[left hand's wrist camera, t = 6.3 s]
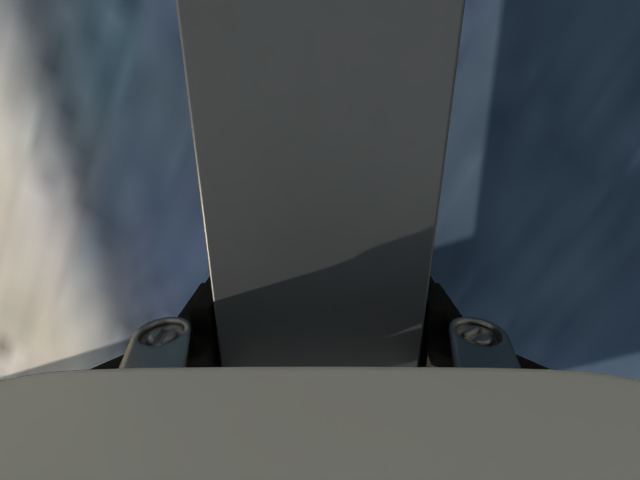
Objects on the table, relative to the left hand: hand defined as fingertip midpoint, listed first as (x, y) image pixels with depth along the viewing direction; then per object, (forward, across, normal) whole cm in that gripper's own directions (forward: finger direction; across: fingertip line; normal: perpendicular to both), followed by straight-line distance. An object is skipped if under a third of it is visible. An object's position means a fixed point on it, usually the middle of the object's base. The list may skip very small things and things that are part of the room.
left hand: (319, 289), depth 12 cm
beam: (+2, 0, -32) cm, 32 cm away
